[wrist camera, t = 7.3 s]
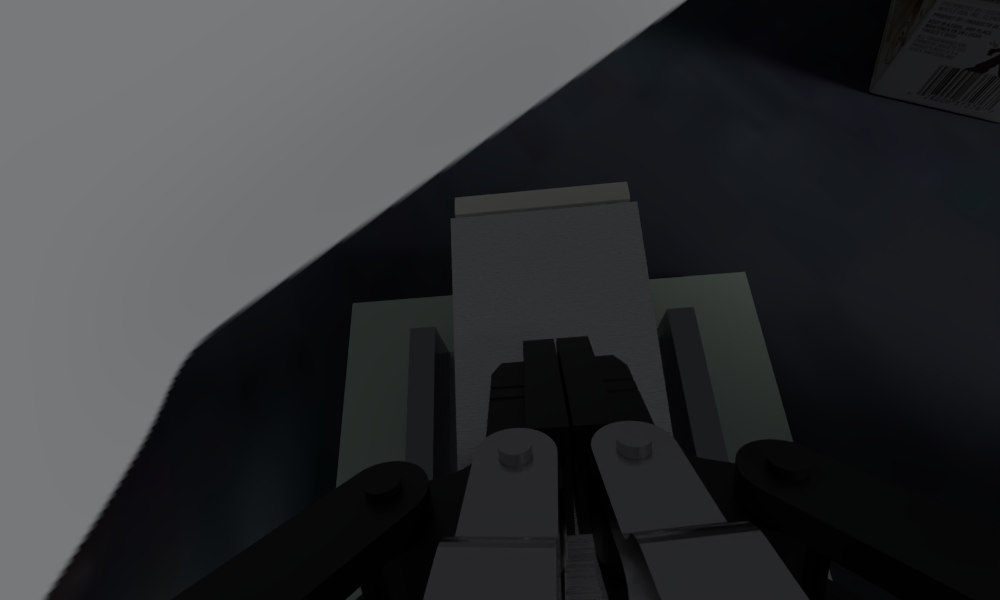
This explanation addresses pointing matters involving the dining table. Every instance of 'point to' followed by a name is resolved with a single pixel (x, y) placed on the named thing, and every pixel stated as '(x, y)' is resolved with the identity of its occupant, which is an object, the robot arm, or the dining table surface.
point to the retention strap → (551, 316)
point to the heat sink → (436, 398)
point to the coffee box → (942, 56)
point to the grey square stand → (385, 346)
